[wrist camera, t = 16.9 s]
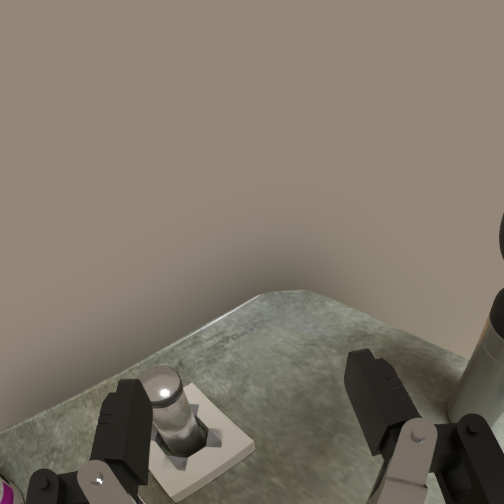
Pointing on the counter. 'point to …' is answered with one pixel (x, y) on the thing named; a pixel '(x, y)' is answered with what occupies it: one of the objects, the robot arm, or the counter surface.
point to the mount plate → (207, 459)
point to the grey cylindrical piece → (172, 411)
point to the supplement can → (9, 492)
